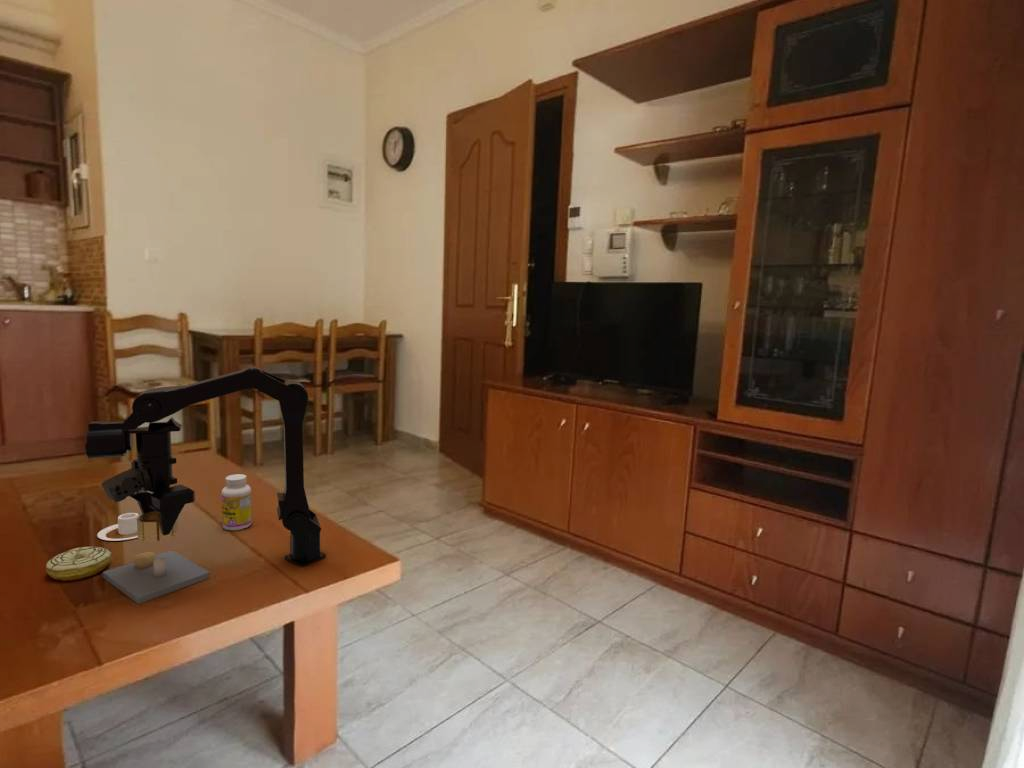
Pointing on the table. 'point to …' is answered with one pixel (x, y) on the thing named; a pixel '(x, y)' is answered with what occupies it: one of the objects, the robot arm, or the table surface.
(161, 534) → the octagonal wooden tube
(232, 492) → the supplement bottle
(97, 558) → the decorated donut
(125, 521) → the candle holder
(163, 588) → the carrier board
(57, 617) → the table surface
